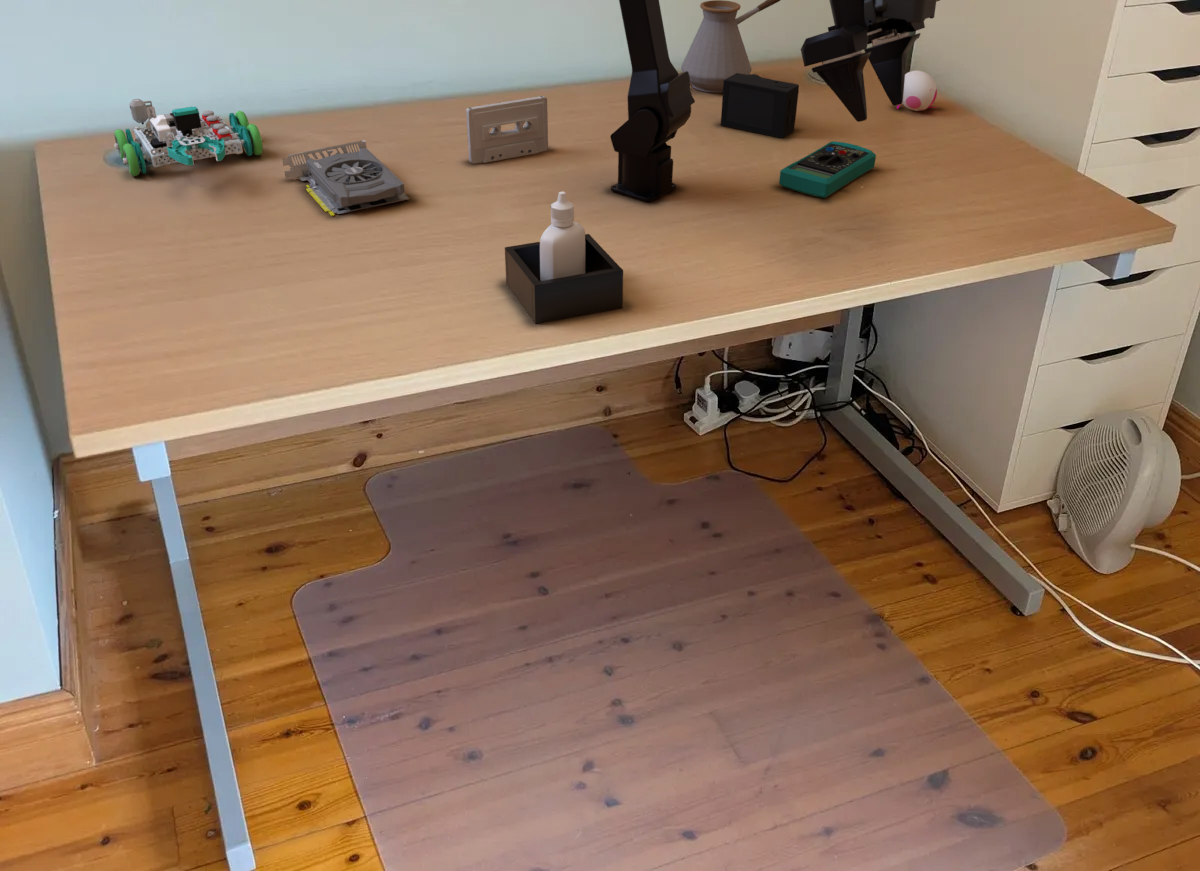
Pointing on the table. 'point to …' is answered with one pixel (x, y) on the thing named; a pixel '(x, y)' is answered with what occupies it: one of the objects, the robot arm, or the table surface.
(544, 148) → the cassette
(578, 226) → the eye dropper bottle
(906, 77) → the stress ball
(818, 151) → the digital multimeter
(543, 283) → the holder
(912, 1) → the robot arm
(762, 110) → the digital camera
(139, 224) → the table surface
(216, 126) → the robot kit
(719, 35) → the coffee pot
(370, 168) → the graphics card
